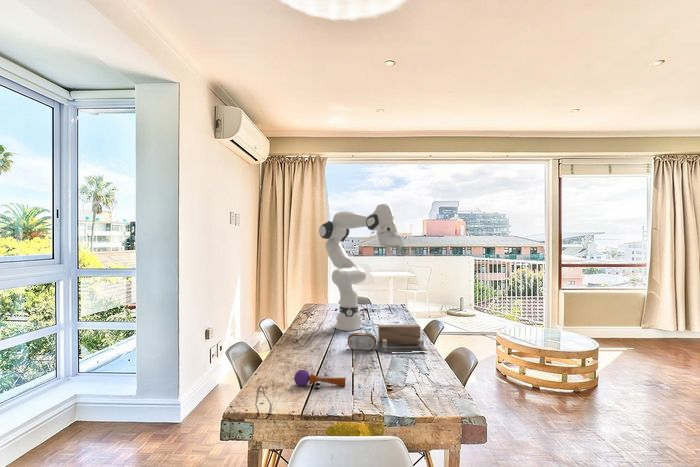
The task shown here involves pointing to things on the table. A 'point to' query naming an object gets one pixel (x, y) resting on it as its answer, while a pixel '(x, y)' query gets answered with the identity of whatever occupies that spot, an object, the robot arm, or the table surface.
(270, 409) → the table surface
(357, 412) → the table surface
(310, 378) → the kendama
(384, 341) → the cabinet
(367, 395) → the table surface
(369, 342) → the tin
